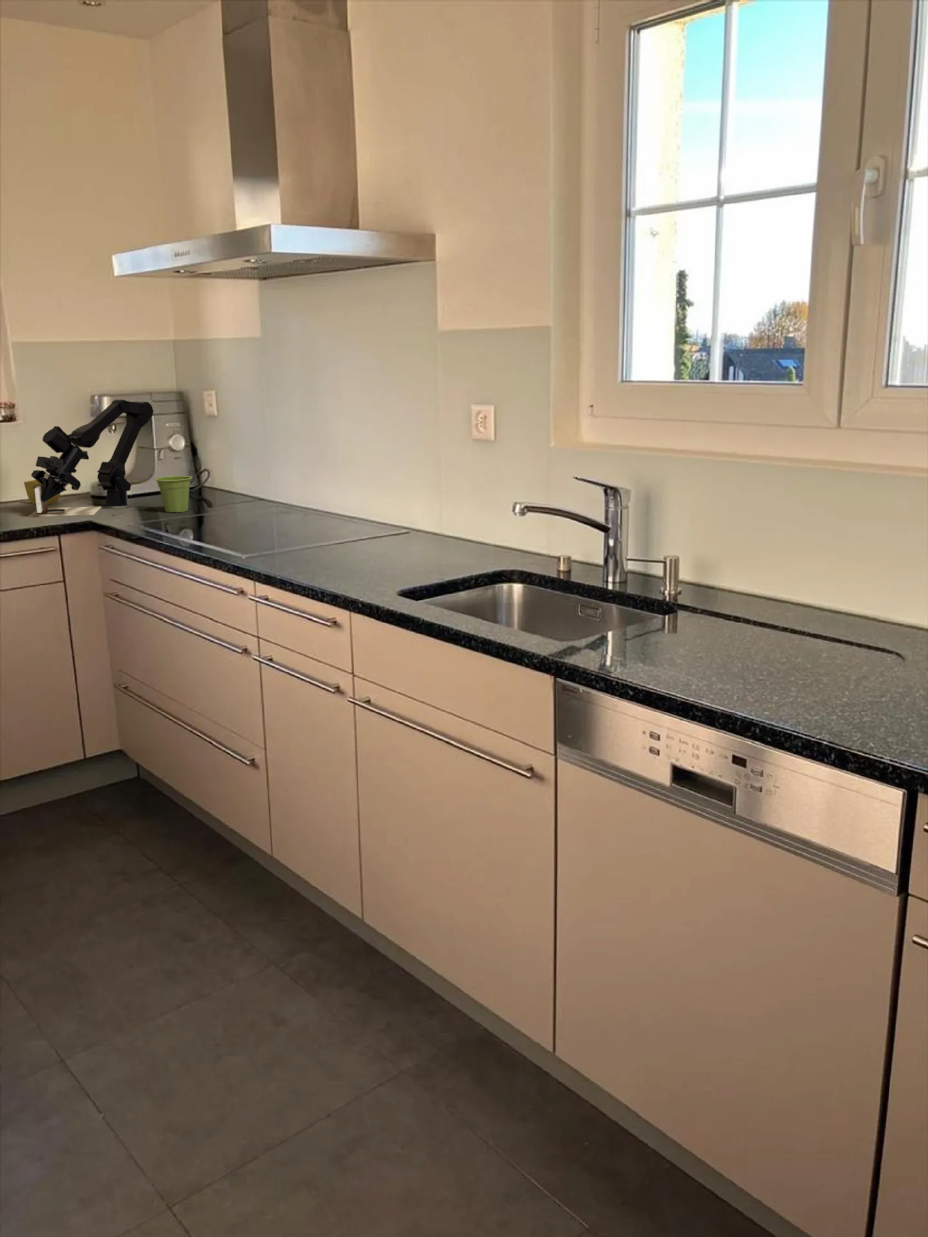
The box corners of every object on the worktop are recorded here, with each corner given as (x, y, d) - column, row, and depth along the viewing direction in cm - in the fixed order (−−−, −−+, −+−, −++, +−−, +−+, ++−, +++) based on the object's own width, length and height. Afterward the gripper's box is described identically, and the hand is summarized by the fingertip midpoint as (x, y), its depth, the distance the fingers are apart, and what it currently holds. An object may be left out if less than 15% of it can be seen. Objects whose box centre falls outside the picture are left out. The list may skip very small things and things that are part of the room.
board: (102, 509, 344) (101, 506, 344) (93, 518, 327) (93, 514, 327) (39, 511, 341) (39, 508, 340) (28, 520, 323) (27, 516, 323)
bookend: (36, 512, 330) (33, 485, 328) (65, 510, 333) (62, 484, 331) (33, 516, 321) (30, 489, 319) (62, 515, 323) (60, 488, 321)
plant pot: (170, 508, 347) (167, 475, 344) (201, 509, 344) (198, 476, 341) (150, 513, 336) (148, 479, 333) (182, 514, 333) (180, 480, 330)
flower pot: (25, 507, 351) (22, 481, 349) (43, 503, 359) (40, 478, 357) (47, 508, 348) (44, 482, 346) (64, 504, 356) (61, 479, 354)
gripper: (32, 444, 327) (5, 483, 322) (67, 447, 317) (40, 488, 312) (57, 466, 336) (31, 504, 330) (92, 469, 326) (66, 509, 320)
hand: (41, 501), depth 323 cm, fingers closed
